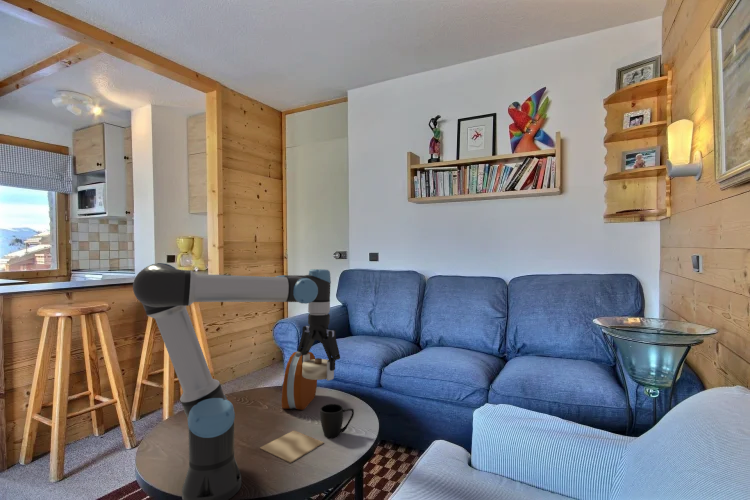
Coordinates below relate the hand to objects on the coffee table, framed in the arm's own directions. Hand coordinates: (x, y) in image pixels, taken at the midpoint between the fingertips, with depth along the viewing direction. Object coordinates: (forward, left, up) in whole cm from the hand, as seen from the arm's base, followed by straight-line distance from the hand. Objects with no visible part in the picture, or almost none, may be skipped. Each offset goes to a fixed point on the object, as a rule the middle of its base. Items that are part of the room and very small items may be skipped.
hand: (317, 376), depth 134 cm
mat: (-8, +4, -22) cm, 24 cm away
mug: (+7, -3, -22) cm, 24 cm away
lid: (0, 0, 0) cm, 1 cm away
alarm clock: (+19, +30, -22) cm, 42 cm away
